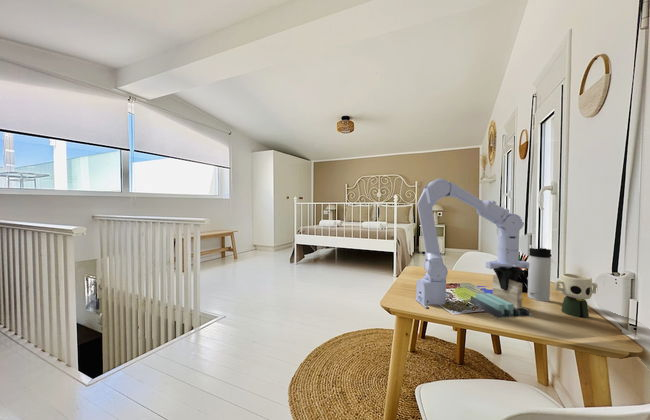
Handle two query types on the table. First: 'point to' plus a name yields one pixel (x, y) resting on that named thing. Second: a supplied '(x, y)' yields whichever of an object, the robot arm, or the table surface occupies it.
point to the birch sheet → (509, 292)
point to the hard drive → (486, 290)
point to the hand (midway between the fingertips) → (506, 289)
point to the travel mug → (539, 274)
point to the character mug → (575, 293)
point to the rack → (496, 312)
